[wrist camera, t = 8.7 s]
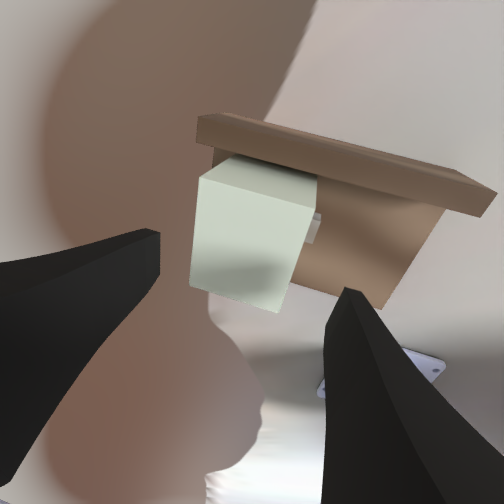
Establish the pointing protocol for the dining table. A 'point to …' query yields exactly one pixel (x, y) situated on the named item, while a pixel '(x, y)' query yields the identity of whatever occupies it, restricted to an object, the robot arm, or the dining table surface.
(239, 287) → the sage block
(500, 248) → the dining table surface
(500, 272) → the dining table surface
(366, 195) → the cleat board
